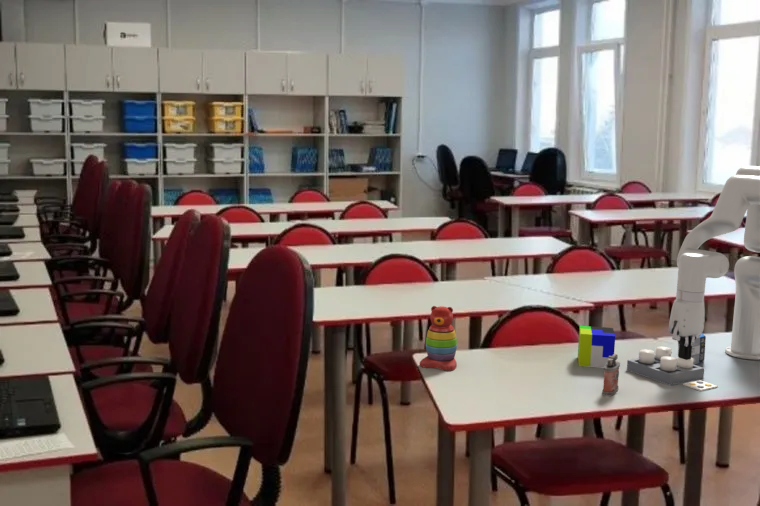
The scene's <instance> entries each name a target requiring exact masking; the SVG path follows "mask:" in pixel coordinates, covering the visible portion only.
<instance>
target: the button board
mask: <svg viewBox="0 0 760 506" xmlns="http://www.w3.org/2000/svg"><path fill="white" fill-rule="evenodd" d="M660 361H661V360H659V359H656V358H654V363H651V364H647V363H642V362H639V357H636V358H632V359H627V364H626V371H629V372H632V373H635V374H638V375H641V376H643V377H646V378H649V379H651V380H654V381H657V382H660V383H662V384H666V385H668V386H673V385H677V384H683V383H688V382H693V381H697V380H702V379H704V376H705V368H704V367H703V366H700V365H697V364H695V365H693V368H692V369H687V370H685V369H682V368H679V367H677V366H676V370H675V371H666V370H662V369H660ZM701 378H702V379H701Z"/></svg>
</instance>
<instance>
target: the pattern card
mask: <svg viewBox="0 0 760 506" xmlns="http://www.w3.org/2000/svg"><path fill="white" fill-rule="evenodd" d="M682 386H684V387H688V388H691V389H693V390H696V391H699V392H704V391H707V390H713V389H717V388H719V387H718V385H715V384H713V383H710V382H707V381H705V380H702V379H697V380H692V381H688V382H683V383H682Z"/></svg>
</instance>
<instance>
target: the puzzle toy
mask: <svg viewBox="0 0 760 506" xmlns="http://www.w3.org/2000/svg"><path fill="white" fill-rule="evenodd" d="M615 344H616V334H615V331H614V328H613V327H605V326H604V327H603V326H589V325H579V331H578V349H577V362H578V366H579V367H587V366H589V367H590V368H600V367H604V366H605V364H607V361H608V358H609V356H612V355H613V354H615V347H616V346H615Z"/></svg>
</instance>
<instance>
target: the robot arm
mask: <svg viewBox="0 0 760 506" xmlns="http://www.w3.org/2000/svg"><path fill="white" fill-rule="evenodd" d="M745 214H746V217H745ZM744 218H746V219H745V224H744V225H745V227H744V235H743V245H744V246H743V247H745V249H747V251H749V252H753V253H757V254H758V253H760V165H759V166H757V165H746V166H741V167H740V168H739V169H737V171H736V174H735V175H733V176H730V177H729V178H727V180H726V182H725V183H724V185H723V188H722V190H721V192H720V194H719V197H718V199H717V201H716V204H715V206H714V208H713V211H712V213H711V215H710V217H708V218H707V219H705V220H703V221H702V222H700V223H699V224H698V225H696V226H695V227H694V228H693V229H692V230H690V231H689V232H688V233H687V234H686V236H685V238H684V240H683V242H682V245H681V246H680V248H679V251H678V254H677V257H676V266H677V268H678V271H677V280H676V281H677V283H676V293H675V299H674V301H673V304H672V307H671V311H670V317H669V323H668V332H669V334H671V335H672V338H671V340H673V341H677V344H679V354H678V353H677V357H679V358H682V359H685V360H688V359H691V353H692V346H693V345H694V341H695V339H696V338H698V337H700V336H701V333H702V334H703V332H704V328H705V317H706V315H705V314H706V311H705V291H706V283H707V281H706V280H707V278H708V279H719V278H722V277H724V276H725V275H727V273H728V270H729V269H730V261H729V259H728V257H727V256H726V255H725V254H724V253H722V252H717V251H710V250H705V249H700V247H701V246H702V245H703V244H704V243H705V242H706V241H708V240H710V239H713V238H715V237H720V236H722V235H726V234H729V233H730V234H731V233H732V232H735V231H737V230H738V229H739V228H740V226H741V224H742V223H743V220H744ZM733 274H734V284H735V299H734V307H733V321H732V332H731V342H730V345H729V346H726V347H725V350H724V351H725V353H726V354H727V355H729V356H731V357H735V358H738V359H744V360H757V361H758V360H760V256H754V255H749V256H743V257H740V258H739V259H737V261H736V262H735V265H734V273H733Z"/></svg>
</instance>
